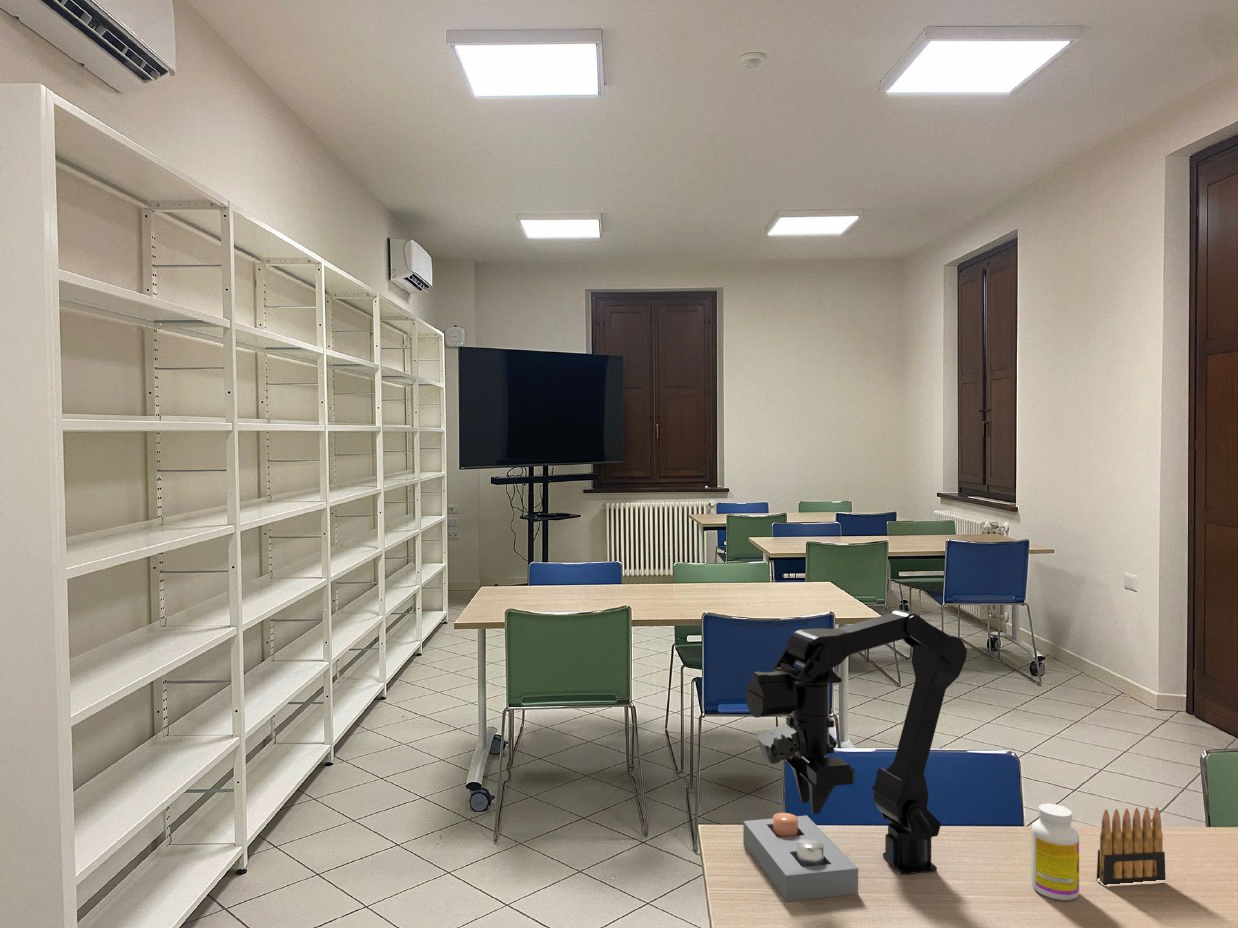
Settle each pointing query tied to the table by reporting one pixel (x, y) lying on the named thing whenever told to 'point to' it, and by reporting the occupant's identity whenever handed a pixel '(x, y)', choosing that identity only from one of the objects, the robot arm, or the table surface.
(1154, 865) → the ammunition clip
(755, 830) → the panel
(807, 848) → the steel plunger
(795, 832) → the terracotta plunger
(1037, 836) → the supplement bottle
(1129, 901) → the table surface
